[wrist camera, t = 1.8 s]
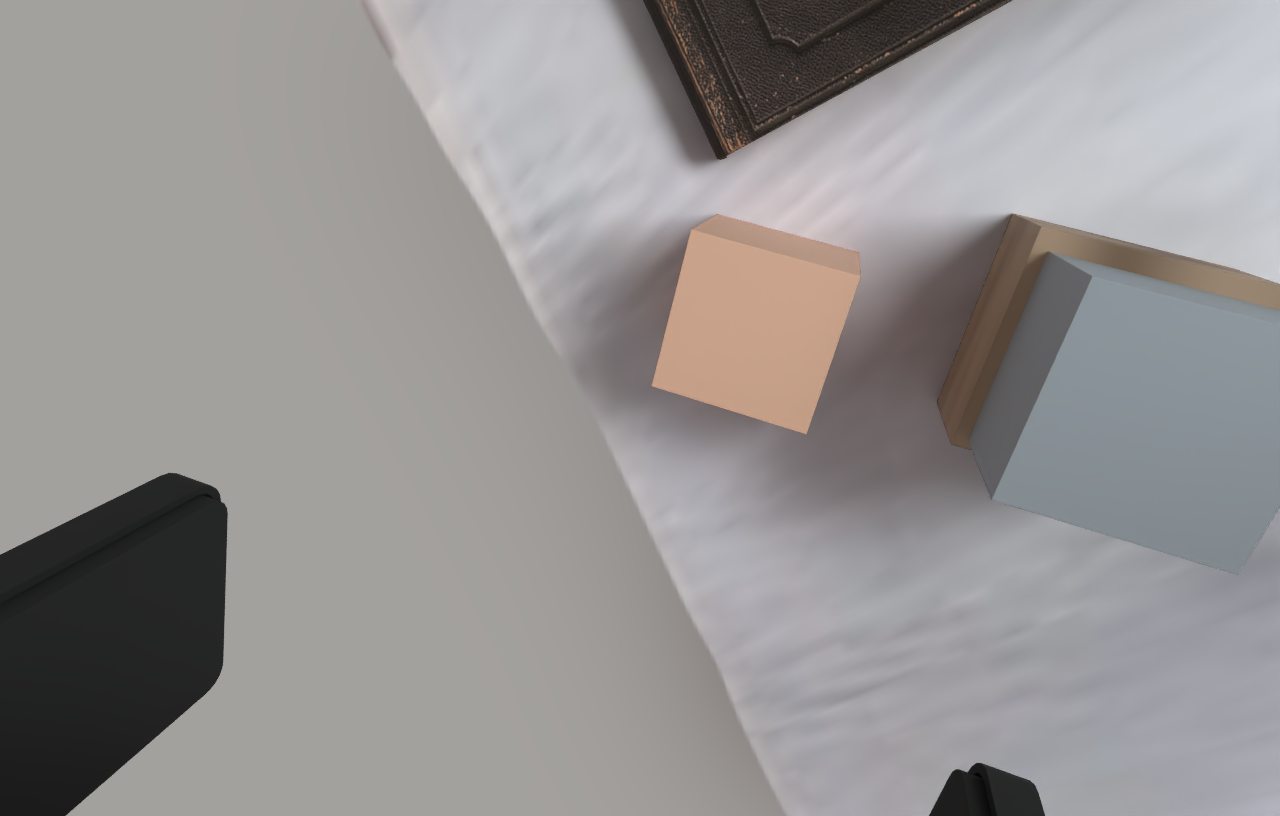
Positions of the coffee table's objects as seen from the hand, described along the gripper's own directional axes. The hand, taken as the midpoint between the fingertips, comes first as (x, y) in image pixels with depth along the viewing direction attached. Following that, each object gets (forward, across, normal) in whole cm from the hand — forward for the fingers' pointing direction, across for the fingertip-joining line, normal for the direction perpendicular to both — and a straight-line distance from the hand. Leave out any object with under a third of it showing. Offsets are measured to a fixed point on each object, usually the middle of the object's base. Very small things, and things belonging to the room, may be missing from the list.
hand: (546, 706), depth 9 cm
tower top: (+21, -12, -2) cm, 24 cm away
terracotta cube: (+26, 0, 0) cm, 26 cm away
